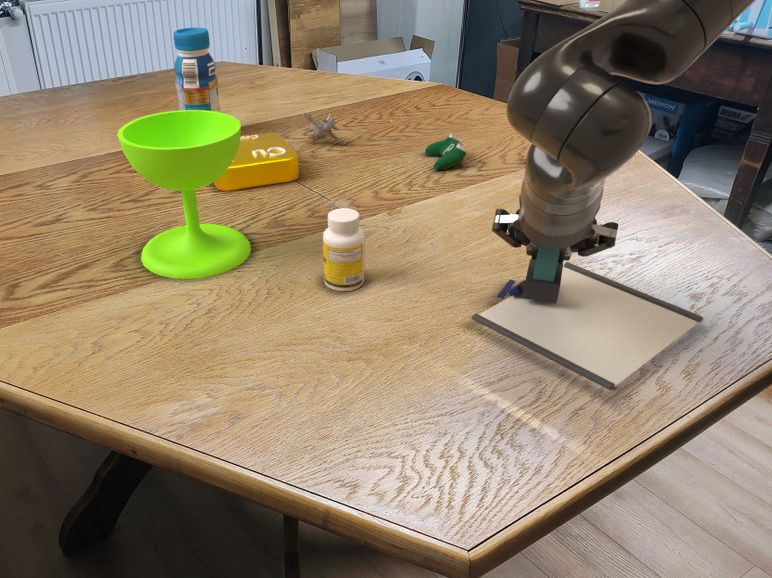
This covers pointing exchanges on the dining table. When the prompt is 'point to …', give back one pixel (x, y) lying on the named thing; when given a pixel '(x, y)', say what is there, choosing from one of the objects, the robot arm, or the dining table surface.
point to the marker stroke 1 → (506, 288)
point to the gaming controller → (447, 152)
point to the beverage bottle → (195, 71)
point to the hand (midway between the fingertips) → (547, 253)
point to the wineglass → (187, 187)
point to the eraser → (543, 276)
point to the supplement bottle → (344, 251)
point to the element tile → (260, 163)
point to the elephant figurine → (323, 128)
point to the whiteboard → (592, 325)
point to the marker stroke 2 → (517, 288)
